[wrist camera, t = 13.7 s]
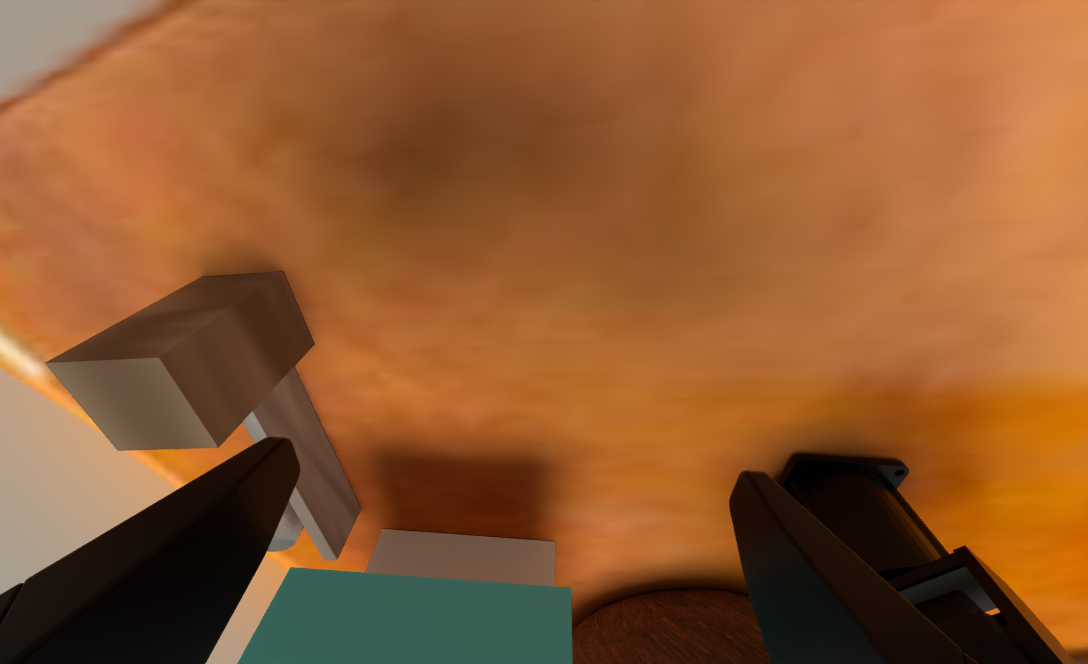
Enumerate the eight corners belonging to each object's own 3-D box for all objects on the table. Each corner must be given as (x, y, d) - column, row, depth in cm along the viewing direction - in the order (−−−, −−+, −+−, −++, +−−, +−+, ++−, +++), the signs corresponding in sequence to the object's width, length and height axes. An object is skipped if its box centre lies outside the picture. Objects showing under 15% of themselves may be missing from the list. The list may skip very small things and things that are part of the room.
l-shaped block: (568, 454, 25) (574, 738, 14) (549, 588, 32) (544, 840, 22) (361, 438, 25) (209, 712, 14) (391, 576, 32) (306, 823, 22)
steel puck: (300, 461, 26) (274, 499, 24) (331, 510, 29) (310, 549, 26) (230, 466, 27) (197, 504, 24) (265, 514, 29) (239, 553, 27)
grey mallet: (283, 271, 19) (159, 357, 13) (384, 508, 28) (336, 625, 22) (202, 276, 20) (44, 363, 14) (326, 509, 28) (263, 624, 22)
